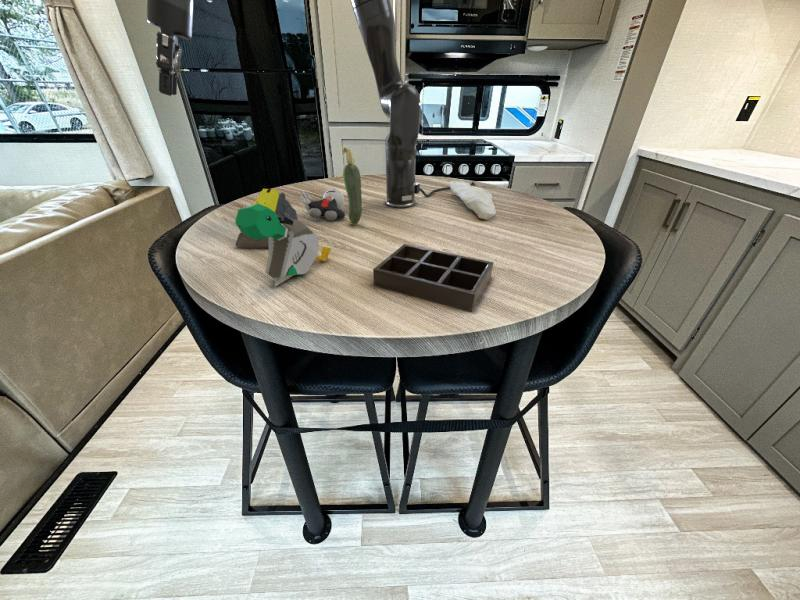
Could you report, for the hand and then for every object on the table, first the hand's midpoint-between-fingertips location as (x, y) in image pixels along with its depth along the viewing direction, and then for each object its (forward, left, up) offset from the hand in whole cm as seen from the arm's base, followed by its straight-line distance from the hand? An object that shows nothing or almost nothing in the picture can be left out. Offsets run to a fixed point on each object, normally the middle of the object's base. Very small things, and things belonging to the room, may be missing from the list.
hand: (168, 94), depth 71 cm
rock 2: (-53, +58, -31) cm, 85 cm away
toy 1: (+8, +37, -31) cm, 49 cm away
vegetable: (-20, +33, -31) cm, 50 cm away
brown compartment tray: (-1, +64, -31) cm, 71 cm away
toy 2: (-24, +19, -31) cm, 44 cm away
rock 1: (-2, +20, -31) cm, 37 cm away
